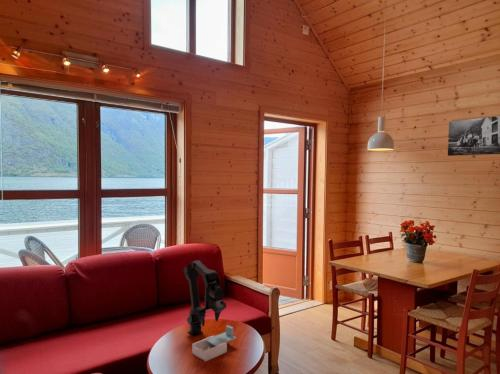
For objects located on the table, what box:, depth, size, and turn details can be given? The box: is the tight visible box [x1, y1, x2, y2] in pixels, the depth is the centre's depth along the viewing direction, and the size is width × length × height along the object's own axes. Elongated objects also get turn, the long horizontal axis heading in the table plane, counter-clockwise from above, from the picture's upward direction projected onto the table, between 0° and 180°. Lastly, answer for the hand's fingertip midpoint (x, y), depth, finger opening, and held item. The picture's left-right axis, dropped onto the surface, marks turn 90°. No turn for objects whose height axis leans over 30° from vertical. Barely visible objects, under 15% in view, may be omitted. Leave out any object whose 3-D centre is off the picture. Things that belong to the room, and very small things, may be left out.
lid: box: [206, 325, 237, 346], centre depth 187 cm, size 9×14×5 cm, turn 136°
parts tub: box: [191, 335, 228, 363], centre depth 182 cm, size 11×14×5 cm
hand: (210, 323), depth 189 cm, fingers open, 9 cm apart
